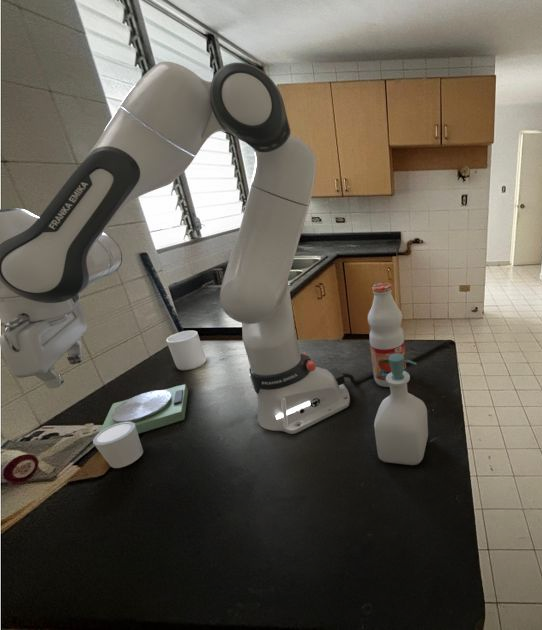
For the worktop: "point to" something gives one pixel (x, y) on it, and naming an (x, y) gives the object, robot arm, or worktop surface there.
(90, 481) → the worktop surface
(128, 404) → the scale pan
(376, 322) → the fruit juice
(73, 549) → the worktop surface
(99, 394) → the worktop surface
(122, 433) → the white cylindrical container
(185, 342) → the cup
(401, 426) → the soap bottle
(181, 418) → the scale
